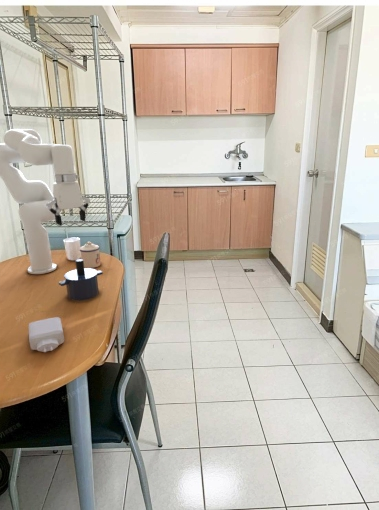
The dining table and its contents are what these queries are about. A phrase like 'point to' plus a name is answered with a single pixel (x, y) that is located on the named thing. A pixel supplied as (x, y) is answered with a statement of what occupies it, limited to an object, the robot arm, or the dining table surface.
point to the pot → (82, 288)
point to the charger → (46, 334)
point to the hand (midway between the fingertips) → (71, 222)
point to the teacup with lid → (90, 255)
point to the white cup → (72, 248)
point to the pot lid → (80, 272)
